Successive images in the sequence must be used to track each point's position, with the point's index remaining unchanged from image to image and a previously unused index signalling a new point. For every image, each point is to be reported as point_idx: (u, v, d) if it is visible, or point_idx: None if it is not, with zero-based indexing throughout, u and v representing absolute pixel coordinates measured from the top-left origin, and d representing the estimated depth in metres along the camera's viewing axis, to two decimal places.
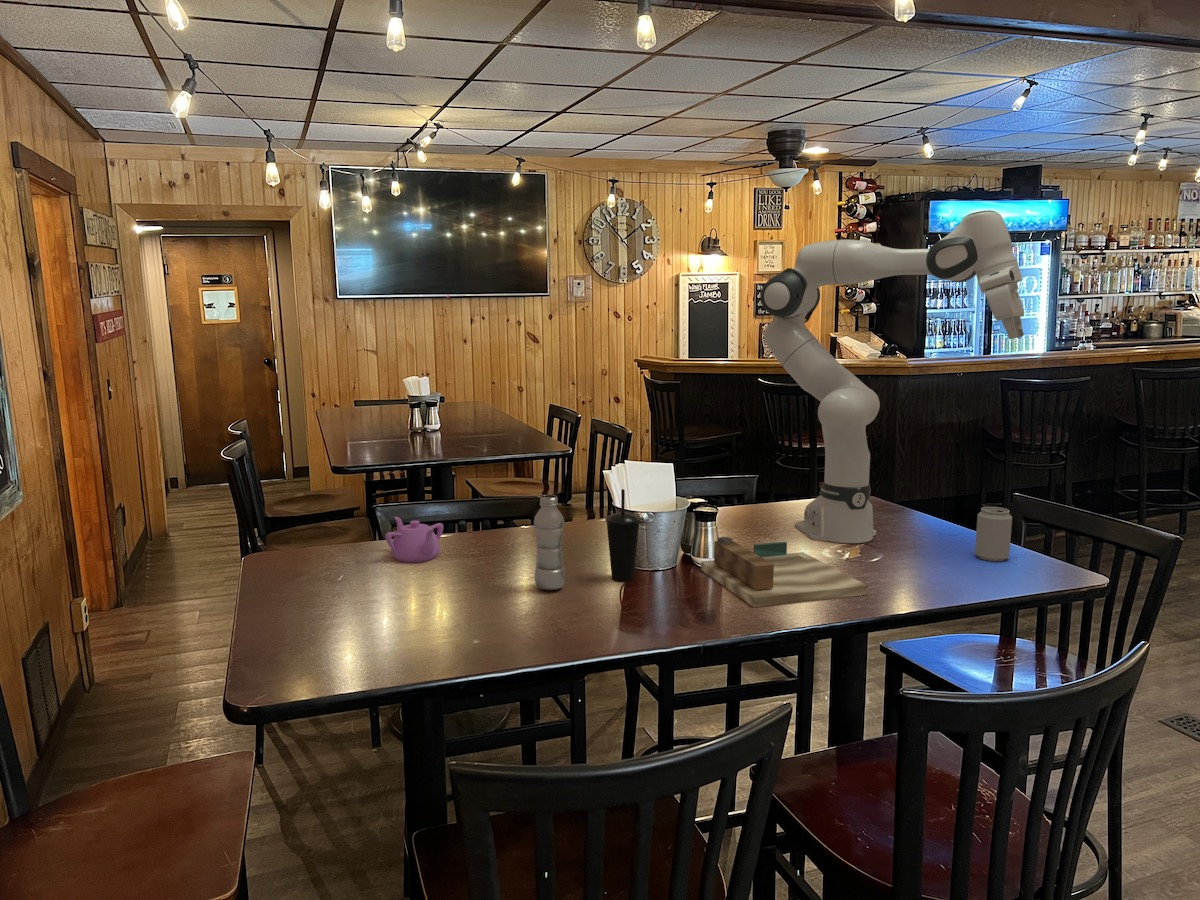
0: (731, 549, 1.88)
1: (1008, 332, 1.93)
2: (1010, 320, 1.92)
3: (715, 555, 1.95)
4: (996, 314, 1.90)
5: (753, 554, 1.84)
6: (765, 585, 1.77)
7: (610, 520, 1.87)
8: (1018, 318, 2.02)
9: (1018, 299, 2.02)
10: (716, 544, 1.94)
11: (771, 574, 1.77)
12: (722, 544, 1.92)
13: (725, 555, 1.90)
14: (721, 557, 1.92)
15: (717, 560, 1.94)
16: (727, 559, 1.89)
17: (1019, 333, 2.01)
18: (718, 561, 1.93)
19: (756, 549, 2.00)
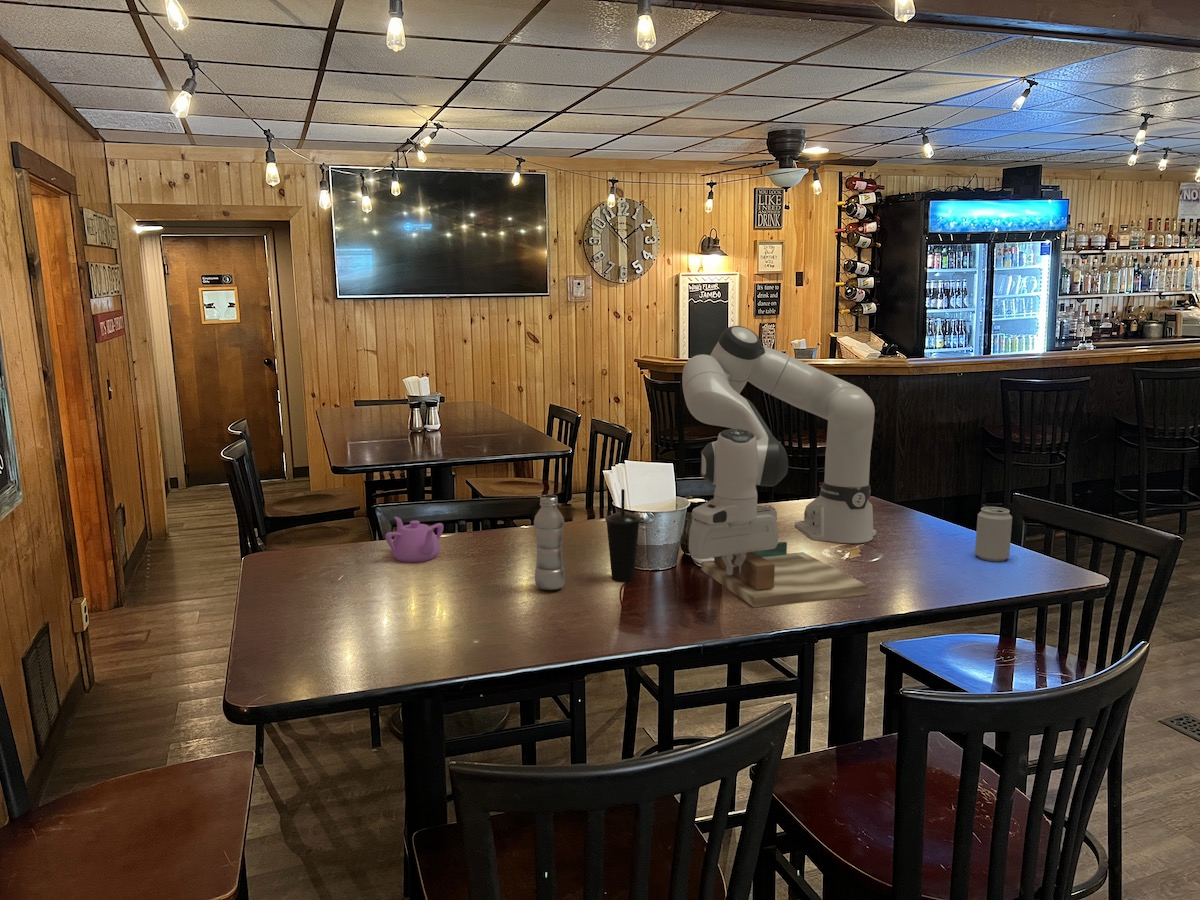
0: None
1: (726, 566, 1.81)
2: (726, 557, 1.79)
3: None
4: (689, 549, 1.77)
5: (754, 554, 1.84)
6: (766, 585, 1.77)
7: (610, 520, 1.87)
8: (740, 554, 1.80)
9: (764, 532, 1.81)
10: None
11: (772, 574, 1.77)
12: None
13: None
14: (721, 557, 1.92)
15: (717, 560, 1.94)
16: None
17: None
18: (718, 561, 1.93)
19: None
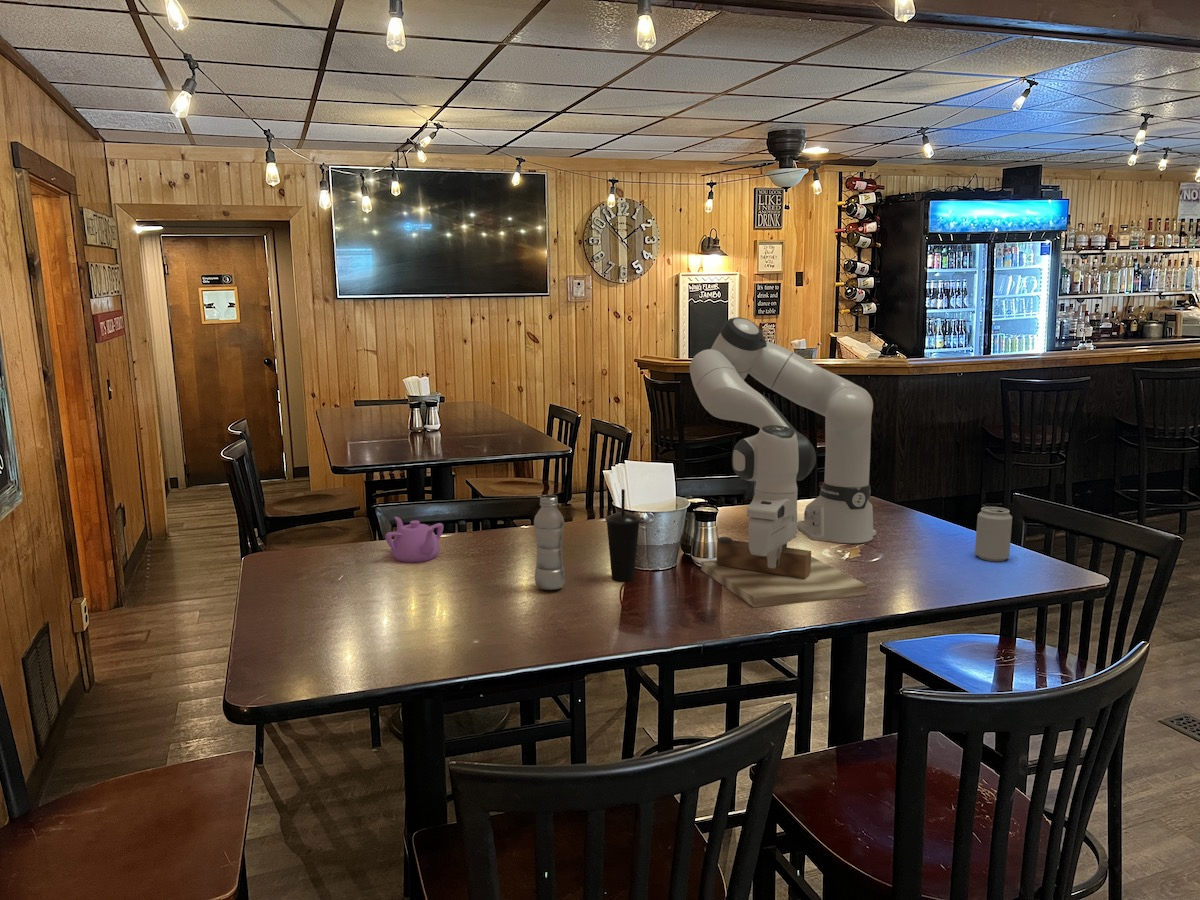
0: (748, 546, 1.90)
1: (768, 560, 1.84)
2: (773, 551, 1.83)
3: (718, 557, 1.94)
4: (750, 549, 1.77)
5: None
6: (808, 572, 1.86)
7: (610, 520, 1.87)
8: (778, 547, 1.85)
9: (792, 523, 1.88)
10: (721, 545, 1.93)
11: (810, 560, 1.87)
12: (731, 544, 1.92)
13: (741, 553, 1.91)
14: (732, 557, 1.92)
15: (724, 561, 1.93)
16: (746, 557, 1.90)
17: None
18: (726, 562, 1.93)
19: None
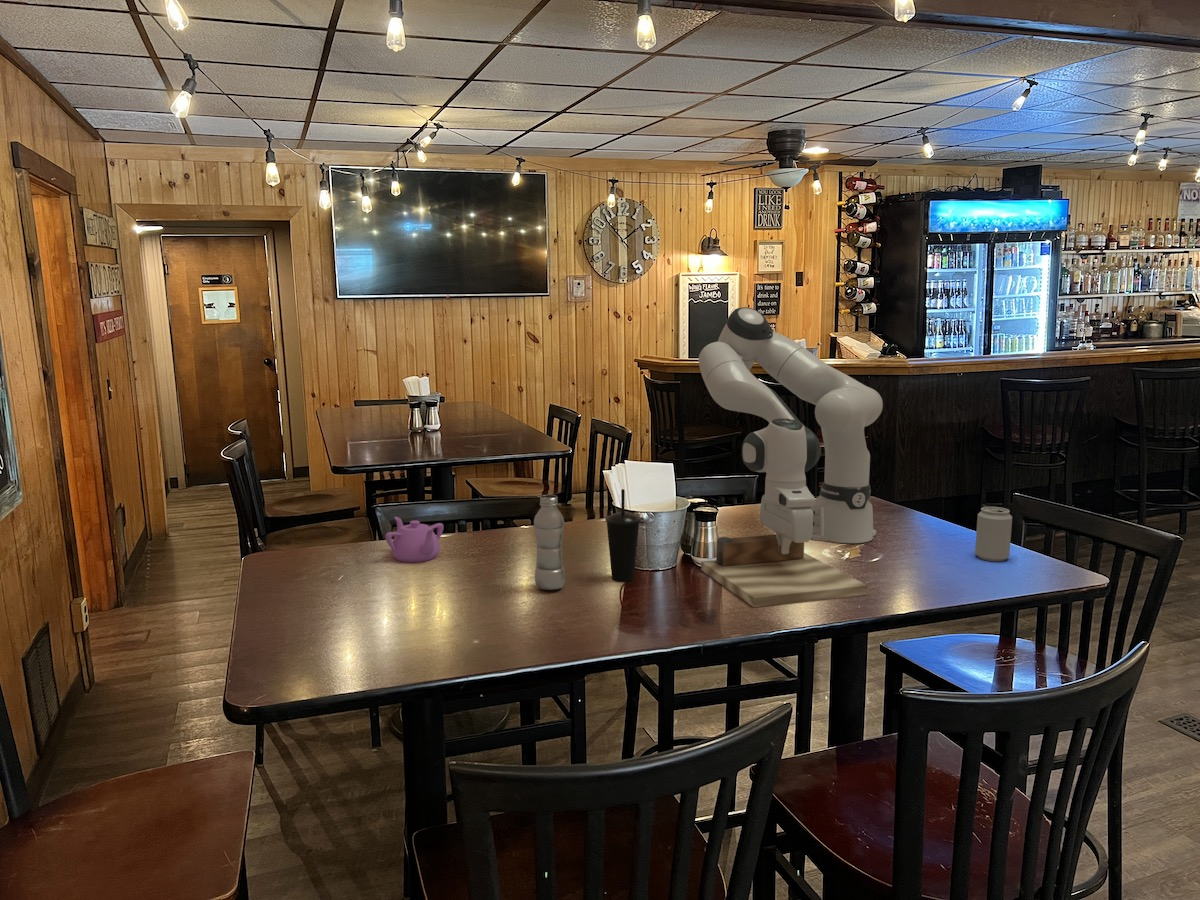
0: (751, 540, 1.95)
1: (783, 547, 1.94)
2: None
3: (726, 558, 1.93)
4: (798, 537, 1.84)
5: (766, 535, 1.99)
6: None
7: (610, 520, 1.87)
8: None
9: None
10: (728, 546, 1.93)
11: None
12: (736, 542, 1.94)
13: (747, 549, 1.94)
14: (739, 554, 1.94)
15: (731, 561, 1.93)
16: (751, 551, 1.95)
17: None
18: (733, 561, 1.94)
19: None
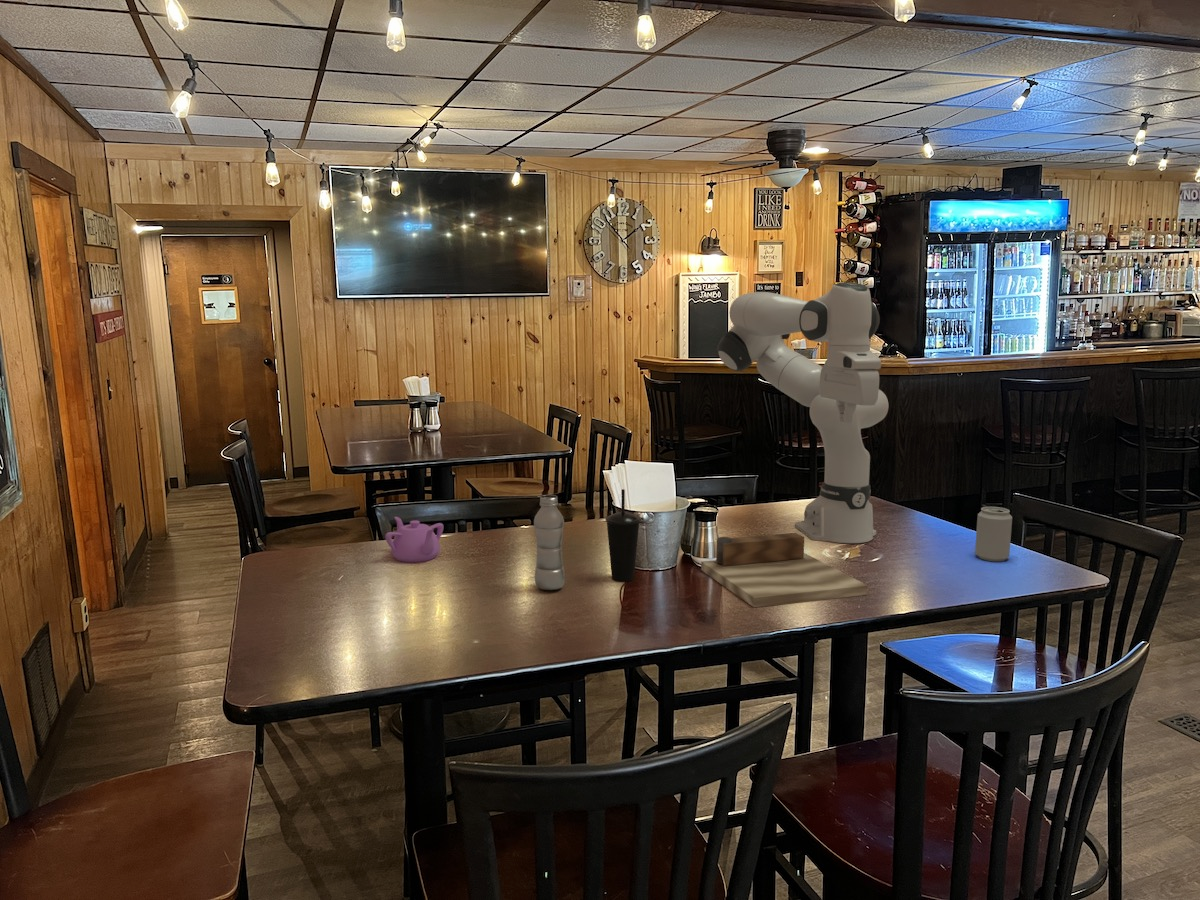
0: (751, 540, 1.95)
1: (846, 415, 1.89)
2: (854, 405, 1.88)
3: (726, 558, 1.93)
4: (864, 399, 1.80)
5: (766, 535, 1.99)
6: None
7: (610, 520, 1.87)
8: None
9: None
10: (728, 546, 1.93)
11: None
12: (736, 542, 1.94)
13: (747, 549, 1.94)
14: (739, 554, 1.94)
15: (731, 561, 1.93)
16: (751, 551, 1.95)
17: None
18: (733, 561, 1.94)
19: None
